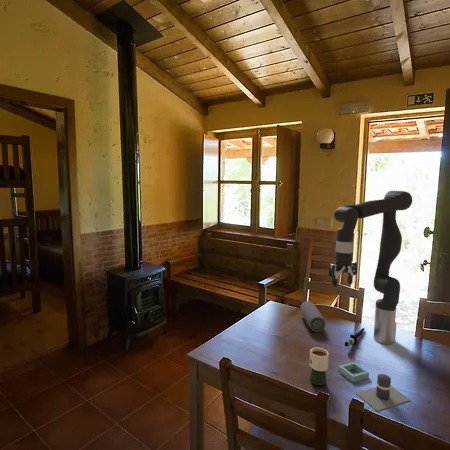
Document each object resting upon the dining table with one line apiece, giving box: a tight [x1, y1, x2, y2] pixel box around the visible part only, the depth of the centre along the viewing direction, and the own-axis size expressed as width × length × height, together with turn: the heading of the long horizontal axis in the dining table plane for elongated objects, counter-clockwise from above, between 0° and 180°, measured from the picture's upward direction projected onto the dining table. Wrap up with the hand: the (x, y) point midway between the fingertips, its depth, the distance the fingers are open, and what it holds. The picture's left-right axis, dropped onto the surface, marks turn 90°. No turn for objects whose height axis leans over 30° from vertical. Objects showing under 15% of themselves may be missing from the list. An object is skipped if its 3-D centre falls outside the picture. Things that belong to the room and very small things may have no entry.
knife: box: [344, 327, 365, 348], centre depth 161 cm, size 31×3×4 cm, turn 137°
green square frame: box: [338, 361, 370, 383], centre depth 133 cm, size 8×8×2 cm
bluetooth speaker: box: [299, 300, 326, 333], centre depth 179 cm, size 23×9×10 cm, turn 179°
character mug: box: [309, 347, 330, 386], centre depth 127 cm, size 11×7×13 cm, turn 153°
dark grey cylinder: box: [376, 373, 392, 400], centre depth 119 cm, size 5×5×8 cm
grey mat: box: [355, 385, 411, 412], centre depth 119 cm, size 16×10×1 cm, turn 111°
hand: (342, 285), depth 148 cm, fingers open, 8 cm apart
